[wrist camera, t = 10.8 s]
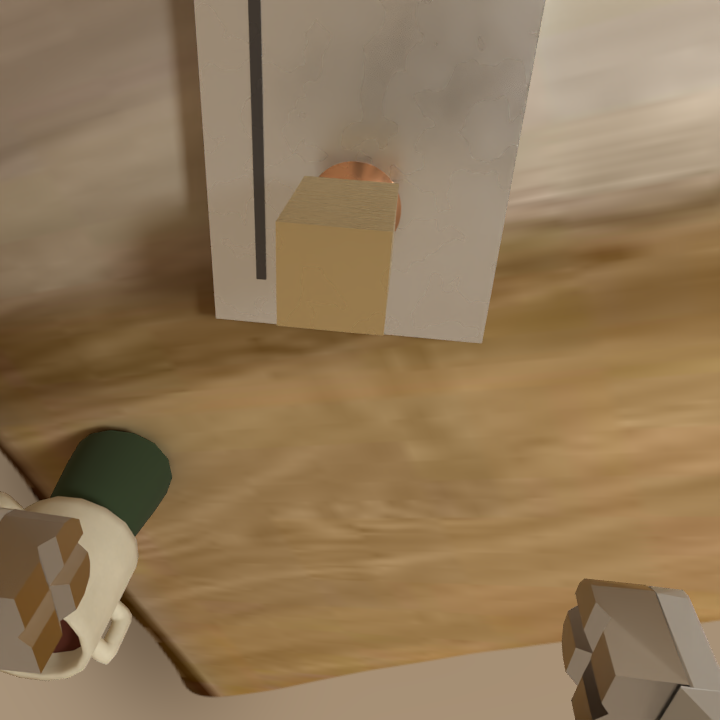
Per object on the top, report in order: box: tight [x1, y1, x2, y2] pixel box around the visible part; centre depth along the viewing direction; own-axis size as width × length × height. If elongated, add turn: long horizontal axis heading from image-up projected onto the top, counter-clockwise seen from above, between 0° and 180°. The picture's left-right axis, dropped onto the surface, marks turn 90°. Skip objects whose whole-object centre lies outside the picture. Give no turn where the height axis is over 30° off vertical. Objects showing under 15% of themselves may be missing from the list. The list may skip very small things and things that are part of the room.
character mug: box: [0, 430, 172, 681], centre depth 35 cm, size 11×7×13 cm, turn 29°
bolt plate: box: [194, 0, 545, 343], centre depth 23 cm, size 27×14×10 cm, turn 177°
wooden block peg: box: [275, 176, 399, 336], centre depth 25 cm, size 4×4×8 cm
